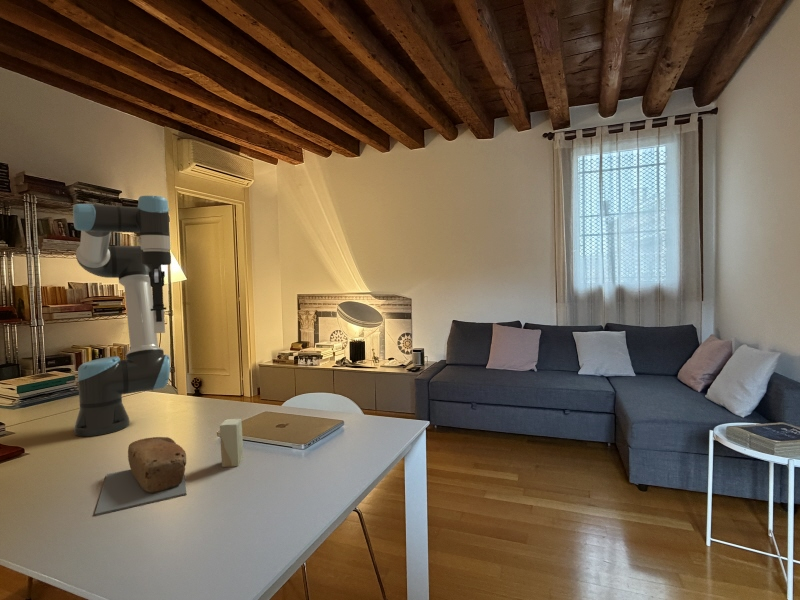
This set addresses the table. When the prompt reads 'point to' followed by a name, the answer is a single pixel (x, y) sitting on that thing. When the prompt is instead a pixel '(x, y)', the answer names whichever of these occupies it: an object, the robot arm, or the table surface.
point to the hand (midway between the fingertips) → (159, 332)
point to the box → (231, 442)
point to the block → (157, 463)
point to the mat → (131, 493)
